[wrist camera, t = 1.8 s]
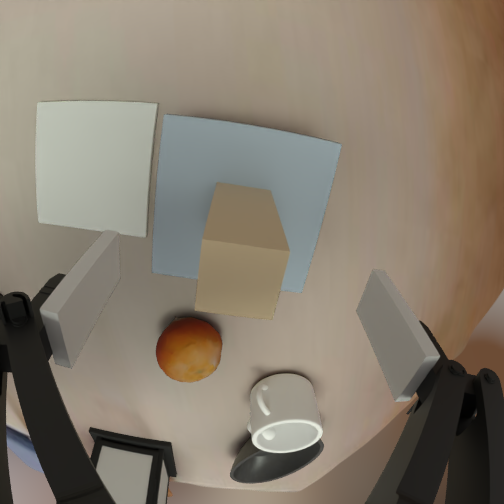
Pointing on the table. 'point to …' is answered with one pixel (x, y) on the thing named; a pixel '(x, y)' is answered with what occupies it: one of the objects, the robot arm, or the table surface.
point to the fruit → (189, 349)
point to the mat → (95, 164)
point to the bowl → (270, 463)
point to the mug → (284, 414)
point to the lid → (239, 210)
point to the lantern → (133, 467)
